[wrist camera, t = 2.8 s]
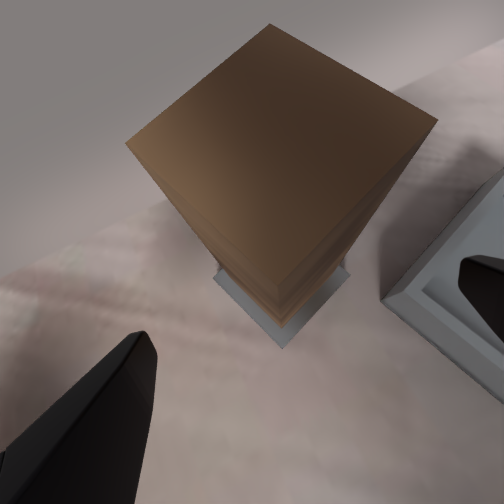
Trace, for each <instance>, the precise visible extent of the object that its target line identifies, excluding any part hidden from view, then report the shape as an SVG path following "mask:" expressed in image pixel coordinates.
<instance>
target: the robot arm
mask: <svg viewBox="0 0 504 504" xmlns="http://www.w3.org/2000/svg"><path fill="white" fill-rule="evenodd" d="M458 287H459V289H460V291H461V293H462V294H463V295H464V296H465V298H466V299H467V300H468V301H469V302H470V304H471V305H472V306H473V307H474V309H475V310H476V311H477V312H478V314H479V315H480V316H481V317H482V319H483V320H484V321H485V322H486V323H487V325H488V326H489V327H490V328H491V330H492V331H493V332H494V333H495V334H496V335H497V337H498V338H499V339H500V340H501V341H502V342H503V343H504V259H500V258H495V257H490V256H485V255H473V256H469V257H465V258H463V259H462V260H461V262H460V268H459V276H458ZM157 359H158V358H157V352H156V349H155V347H154V345H153V343H152V341H151V339H150V338H149V336H148V334H147V333H146V332H145V331H138V332H134V333H131V334H129V335H128V336H127V337H126V338H124V339H123V340H122V341H121V342H120V343H119V344H118V345H117V346H116V347H115V348H114V349H113V350H112V351H110V352H109V353H108V354H107V355H106V356H105V357H104V358H103V359H102V360H101V361H100V362H99V363H97V364H96V365H95V366H94V367H93V368H92V369H91V370H90V371H89V372H88V373H87V374H86V375H84V376H83V377H82V378H81V379H80V380H79V381H78V382H77V383H76V384H75V385H74V386H73V387H71V388H70V389H69V390H68V391H67V392H66V393H65V394H64V395H63V396H62V397H61V398H60V399H59V400H57V401H56V402H55V403H54V404H53V405H52V406H51V407H50V408H49V409H48V410H47V411H46V412H44V413H43V414H42V415H41V416H40V417H39V418H38V419H37V420H36V421H35V422H34V423H33V424H31V425H30V426H29V427H28V428H27V429H26V430H25V431H24V432H23V433H22V434H21V435H20V436H18V437H17V438H16V439H15V440H14V441H13V442H12V443H11V444H10V445H9V446H8V447H7V448H6V451H2V452H1V453H0V504H134V503H135V498H136V493H137V488H138V483H139V478H140V473H141V468H142V463H143V458H144V453H145V448H146V443H147V438H148V433H149V428H150V423H151V417H152V411H153V403H154V392H155V381H156V370H157Z"/></svg>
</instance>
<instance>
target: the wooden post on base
mask: <svg viewBox="0 0 504 504" xmlns="http://www.w3.org/2000/svg"><path fill="white" fill-rule="evenodd" d="M437 121H438V119H436V118H435V117H433V116H431V115H429V114H428V113H426V112H424V111H422V110H421V109H419V108H417V107H415V106H414V105H412V104H410V103H408V102H407V101H405V100H403V99H401V98H400V97H398V96H396V95H394V94H393V93H391V92H389V91H387V90H386V89H384V88H382V87H380V86H379V85H377V84H375V83H373V82H371V81H370V80H368V79H366V78H364V77H363V76H361V75H359V74H357V73H356V72H354V71H352V70H351V69H349V68H347V67H345V66H343V65H342V64H340V63H338V62H336V61H335V60H333V59H331V58H330V57H328V56H326V55H324V54H322V53H321V52H319V51H317V50H315V49H314V48H312V47H310V46H308V45H307V44H305V43H303V42H301V41H300V40H298V39H296V38H294V37H293V36H291V35H289V34H287V33H286V32H284V31H282V30H280V29H279V28H277V27H275V26H273V25H272V24H269V25H268V26H266V27H265V28H264V29H263V30H262V31H260V32H259V33H258V34H257V35H255V36H254V37H253V38H252V39H251V40H249V41H248V42H247V43H246V44H245V45H243V46H242V47H241V48H240V49H239V50H237V51H236V52H235V53H234V54H232V55H231V56H230V57H229V58H228V59H226V60H225V61H224V62H223V63H221V64H220V65H219V66H218V67H217V68H215V69H214V70H213V71H212V72H211V73H209V74H208V75H207V76H206V77H204V78H203V79H202V80H201V81H200V82H199V83H197V84H196V85H195V86H194V87H193V88H191V89H190V90H189V91H188V92H186V93H185V94H184V95H183V96H181V97H180V98H179V99H178V100H177V101H176V102H174V103H173V104H172V105H171V106H169V107H168V108H167V109H166V110H164V111H163V112H162V113H161V114H160V115H159V116H157V117H156V118H155V119H154V120H152V121H151V122H150V123H149V124H147V125H146V126H145V127H144V128H143V129H141V130H140V131H139V132H138V133H137V134H135V135H134V136H133V137H132V138H131V139H129V140H128V141H127V142H126V143H125V144H126V145H127V146H128V148H129V149H130V150H131V151H132V153H133V154H134V155H135V157H136V158H137V159H138V161H139V162H140V163H141V164H142V166H143V167H144V168H145V170H146V171H147V172H148V173H149V175H150V176H151V177H152V178H153V180H154V181H155V182H156V183H157V185H158V186H159V187H160V189H161V190H162V191H163V192H164V194H165V195H166V196H167V198H168V199H169V200H170V201H171V203H172V204H173V205H174V207H175V208H176V209H177V210H178V212H179V213H180V214H181V216H182V217H183V218H184V219H185V221H186V222H187V223H188V224H189V226H190V227H191V228H192V230H193V231H194V232H195V233H196V235H197V236H198V237H199V239H200V240H201V241H202V242H203V244H204V245H205V246H206V247H207V249H208V250H209V251H210V253H211V254H212V255H213V256H214V258H215V259H216V260H217V262H218V263H219V264H220V265H221V267H222V269H221V270H220V271H219V272H218V273H217V274H216V275H215V276H214V277H213V279H214V280H215V281H216V282H217V283H218V284H219V285H220V286H221V287H222V288H223V289H224V290H225V291H226V292H227V293H228V294H229V295H230V296H231V297H232V299H233V300H234V301H235V302H236V303H237V304H238V305H239V306H240V307H241V308H242V309H243V310H244V311H245V312H246V313H247V314H248V315H249V316H250V317H251V318H252V319H253V320H254V321H255V322H256V323H257V324H258V325H259V326H260V327H261V328H262V329H263V330H264V331H265V332H266V333H267V334H268V335H269V336H270V337H271V338H272V339H273V340H274V341H275V342H276V343H277V344H278V345H279V346H280V347H281V348H282V349H283V348H284V347H285V346H286V345H287V344H288V342H289V341H290V340H291V339H292V338H293V337H294V336H295V335H296V334H297V333H298V332H299V330H300V329H301V328H302V327H303V326H304V325H305V324H306V323H307V322H308V321H309V320H310V319H311V317H312V316H313V315H314V314H315V313H316V312H317V311H318V310H319V309H320V308H321V307H322V305H323V304H324V303H325V302H326V301H327V300H328V299H329V298H330V297H331V296H332V295H333V294H334V292H335V291H336V290H337V289H338V288H339V287H340V286H341V285H342V284H343V283H344V282H345V280H346V279H347V278H348V277H349V276H350V274H349V273H348V272H347V271H346V270H344V269H343V268H342V267H341V266H340V265H339V264H340V262H341V261H342V259H343V258H344V256H345V255H346V253H347V252H348V251H349V249H350V248H351V246H352V245H353V243H354V242H355V240H356V239H357V237H358V236H359V235H360V233H361V232H362V230H363V229H364V227H365V226H366V224H367V223H368V221H369V220H370V219H371V217H372V216H373V214H374V213H375V211H376V210H377V208H378V207H379V205H380V204H381V203H382V201H383V200H384V198H385V197H386V195H387V194H388V192H389V191H390V190H391V188H392V187H393V185H394V184H395V182H396V181H397V179H398V178H399V176H400V175H401V174H402V172H403V171H404V169H405V168H406V166H407V165H408V163H409V162H410V160H411V159H412V158H413V156H414V155H415V153H416V152H417V150H418V149H419V147H420V146H421V144H422V143H423V142H424V140H425V139H426V137H427V136H428V134H429V133H430V131H431V130H432V128H433V127H434V126H435V124H436V123H437Z"/></svg>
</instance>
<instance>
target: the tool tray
mask: <svg viewBox="0 0 504 504" xmlns="http://www.w3.org/2000/svg"><path fill="white" fill-rule="evenodd" d="M473 255H485V256H490V257H495V258H500V259H504V168H503V169H502V170H500V171H499V172H498V173H497V174H495V175H494V176H493V177H492V178H491V179H489V180H488V181H487V182H486V183H484V184H483V185H482V186H481V188H480V189H479V190H478V191H477V192H476V193H475V194H474V196H473V197H472V198H471V199H470V200H469V201H468V202H467V203H466V205H465V206H464V207H463V208H462V209H461V210H460V211H459V213H458V214H457V215H456V216H455V217H454V218H453V219H452V221H451V222H450V223H449V224H448V225H447V226H446V227H445V229H444V230H443V231H442V232H441V233H440V234H439V235H438V236H437V238H436V239H435V240H434V241H433V242H432V243H431V244H430V246H429V247H428V248H427V249H426V250H425V251H424V252H423V254H422V255H421V256H420V257H419V258H418V259H417V260H416V261H415V263H414V264H413V265H412V266H411V267H410V268H409V269H408V271H407V272H406V273H405V274H404V275H403V276H402V277H401V279H400V280H399V281H398V282H397V283H396V284H395V285H394V287H393V288H392V289H391V290H390V291H389V292H388V293H387V294H386V296H385V297H384V298H383V299H382V300H381V301H380V302H382V303H383V304H384V305H385V306H386V307H388V308H389V309H390V310H391V311H392V312H394V313H395V314H396V315H397V316H398V317H400V318H401V319H402V320H403V321H404V322H406V323H407V324H408V325H409V326H410V327H412V328H413V329H414V330H415V331H416V332H418V333H419V334H420V335H421V336H422V337H423V338H425V339H426V340H427V341H428V342H429V343H431V344H432V345H433V346H434V347H435V348H437V349H438V350H439V351H440V352H441V353H443V354H444V355H445V356H446V357H447V358H449V359H450V360H451V361H452V362H453V363H455V364H456V365H457V366H458V367H459V368H461V369H462V370H463V371H464V372H465V373H467V374H468V375H469V376H470V377H471V378H473V379H474V380H475V381H476V382H477V383H479V384H480V385H481V386H482V387H483V388H484V389H486V390H487V391H488V392H489V393H490V394H492V395H493V396H494V397H495V398H496V399H498V400H499V401H500V402H501V403H502V404H504V343H503V342H502V341H501V340H500V339H499V338H498V337H497V335H496V334H495V333H494V332H493V331H492V330H491V328H490V327H489V326H488V325H487V323H486V322H485V321H484V320H483V319H482V317H481V316H480V315H479V314H478V312H477V311H476V310H475V309H474V307H473V306H472V305H471V304H470V302H469V301H468V300H467V299H466V298H465V296H464V295H463V294H462V293H461V291H460V289H459V287H458V276H459V268H460V262H461V260H462V259H463V258H465V257H469V256H473Z"/></svg>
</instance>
